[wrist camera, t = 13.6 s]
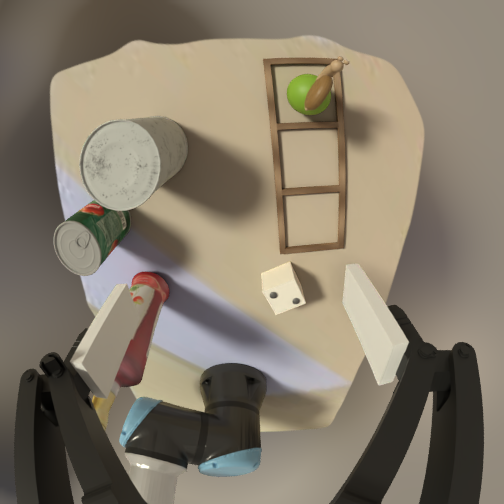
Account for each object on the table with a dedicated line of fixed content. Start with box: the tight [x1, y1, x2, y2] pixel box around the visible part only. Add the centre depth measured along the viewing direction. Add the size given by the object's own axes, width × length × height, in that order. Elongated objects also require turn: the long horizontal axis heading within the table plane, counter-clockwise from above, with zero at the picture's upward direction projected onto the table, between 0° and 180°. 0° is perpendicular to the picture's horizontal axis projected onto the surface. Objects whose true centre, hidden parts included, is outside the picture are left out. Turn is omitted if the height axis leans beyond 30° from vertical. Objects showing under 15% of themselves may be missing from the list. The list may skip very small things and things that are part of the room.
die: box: [261, 262, 306, 315], centre depth 43 cm, size 5×5×5 cm
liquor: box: [92, 272, 169, 430], centre depth 33 cm, size 7×7×28 cm
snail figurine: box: [287, 56, 349, 115], centre depth 26 cm, size 5×6×12 cm
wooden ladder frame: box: [263, 58, 345, 254], centre depth 35 cm, size 28×10×1 cm, turn 6°
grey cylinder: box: [79, 116, 188, 211], centre depth 29 cm, size 10×10×12 cm
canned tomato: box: [54, 200, 131, 276], centre depth 34 cm, size 8×8×11 cm
